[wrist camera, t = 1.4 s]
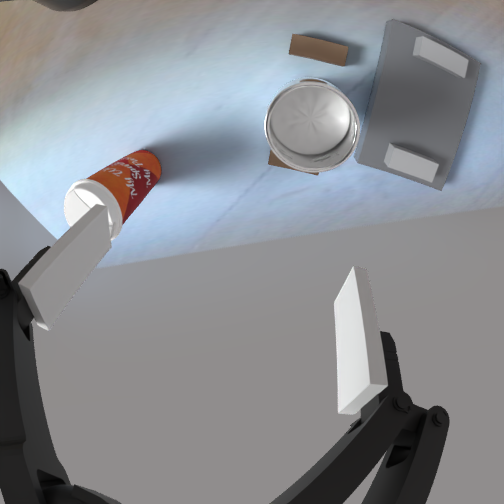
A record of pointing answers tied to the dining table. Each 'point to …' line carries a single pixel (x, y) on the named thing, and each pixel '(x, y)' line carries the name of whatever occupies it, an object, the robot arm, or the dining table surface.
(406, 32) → the grey tray with risers
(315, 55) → the twin wooden blocks
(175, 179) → the dining table surface
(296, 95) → the beer glass
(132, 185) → the paper cup
